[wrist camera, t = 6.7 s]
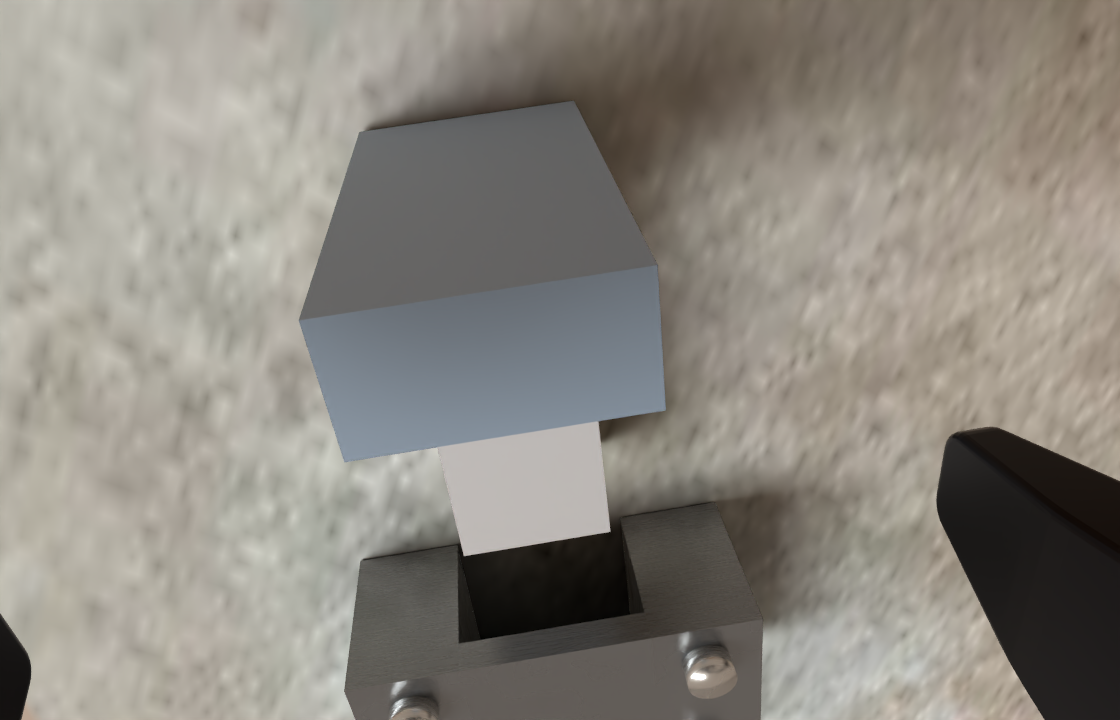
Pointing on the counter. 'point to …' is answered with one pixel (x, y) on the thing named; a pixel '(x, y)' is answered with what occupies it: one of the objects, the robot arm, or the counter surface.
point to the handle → (488, 316)
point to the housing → (566, 639)
